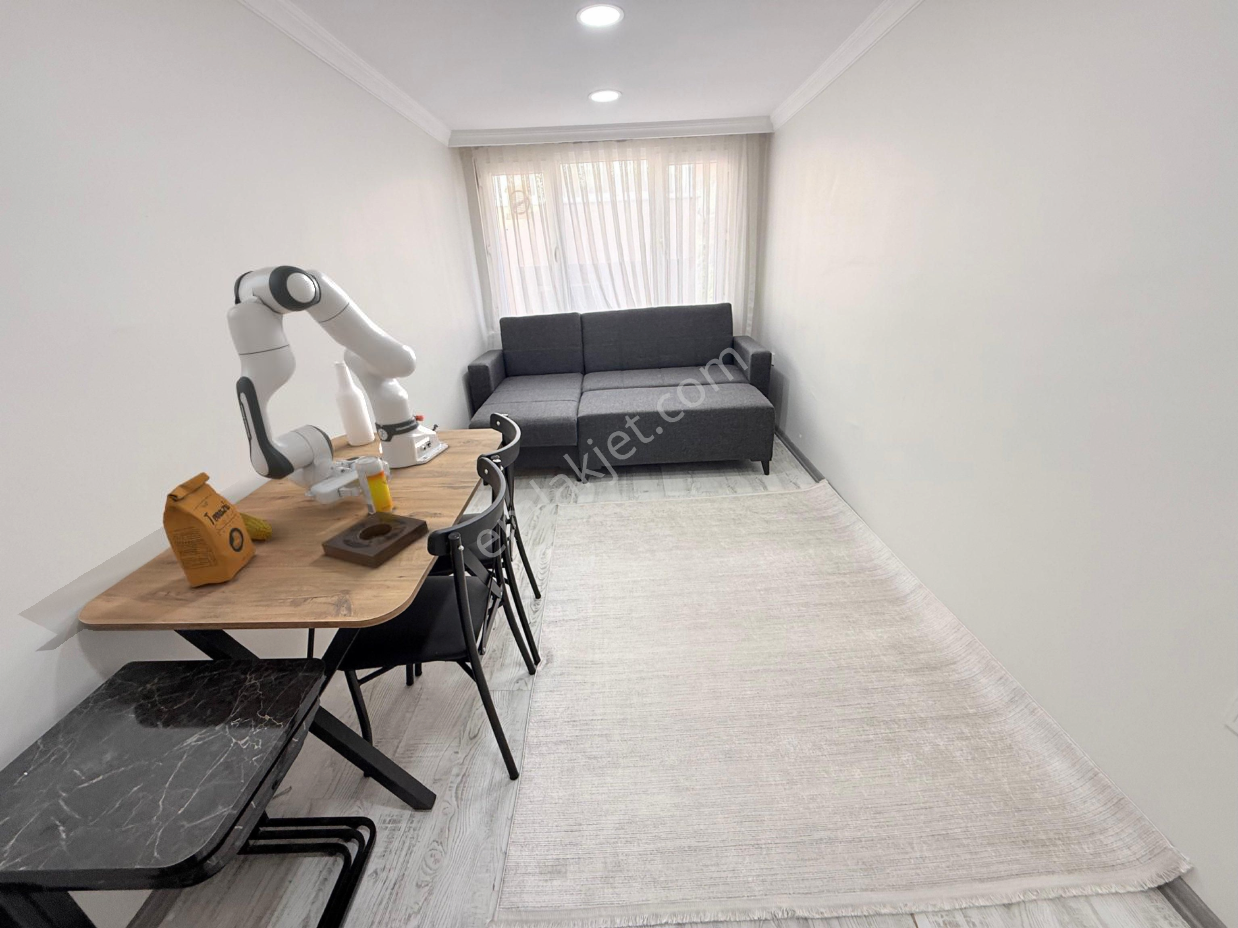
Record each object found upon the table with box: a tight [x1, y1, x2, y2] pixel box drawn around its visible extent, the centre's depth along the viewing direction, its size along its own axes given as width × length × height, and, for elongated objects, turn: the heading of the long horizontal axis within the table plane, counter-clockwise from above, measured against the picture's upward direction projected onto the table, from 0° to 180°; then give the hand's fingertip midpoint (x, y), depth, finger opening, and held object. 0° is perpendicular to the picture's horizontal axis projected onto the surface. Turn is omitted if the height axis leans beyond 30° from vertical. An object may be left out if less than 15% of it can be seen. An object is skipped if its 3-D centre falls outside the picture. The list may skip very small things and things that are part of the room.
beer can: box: [355, 455, 394, 515], centre depth 128 cm, size 6×6×15 cm
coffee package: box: [162, 471, 256, 588], centre depth 105 cm, size 10×12×22 cm
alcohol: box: [333, 360, 376, 447], centre depth 177 cm, size 9×9×30 cm
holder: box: [321, 511, 429, 569], centre depth 116 cm, size 16×16×3 cm
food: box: [239, 512, 273, 541], centre depth 122 cm, size 21×6×6 cm, turn 69°
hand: (373, 484), depth 128 cm, fingers open, 8 cm apart
